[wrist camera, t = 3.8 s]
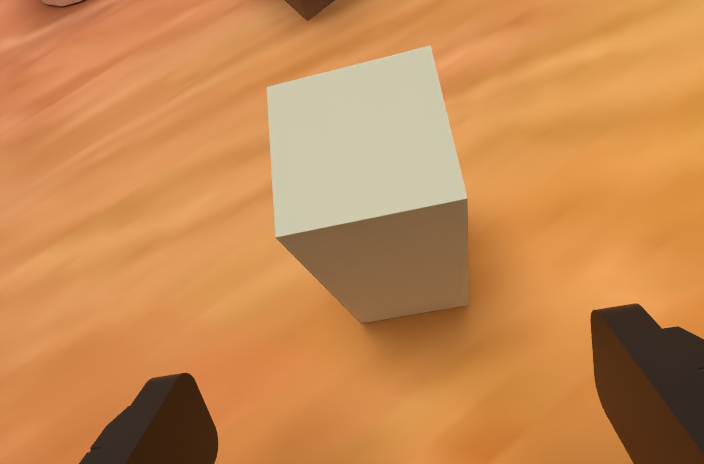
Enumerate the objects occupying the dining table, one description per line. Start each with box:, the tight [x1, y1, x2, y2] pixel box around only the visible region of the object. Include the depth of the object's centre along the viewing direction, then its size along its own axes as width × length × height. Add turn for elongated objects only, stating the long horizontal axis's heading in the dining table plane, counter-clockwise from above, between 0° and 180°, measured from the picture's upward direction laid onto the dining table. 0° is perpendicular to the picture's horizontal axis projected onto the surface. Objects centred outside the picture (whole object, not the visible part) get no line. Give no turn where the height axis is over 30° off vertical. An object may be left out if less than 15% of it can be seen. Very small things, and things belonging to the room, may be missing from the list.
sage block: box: [267, 46, 468, 323], centre depth 17 cm, size 4×4×10 cm
